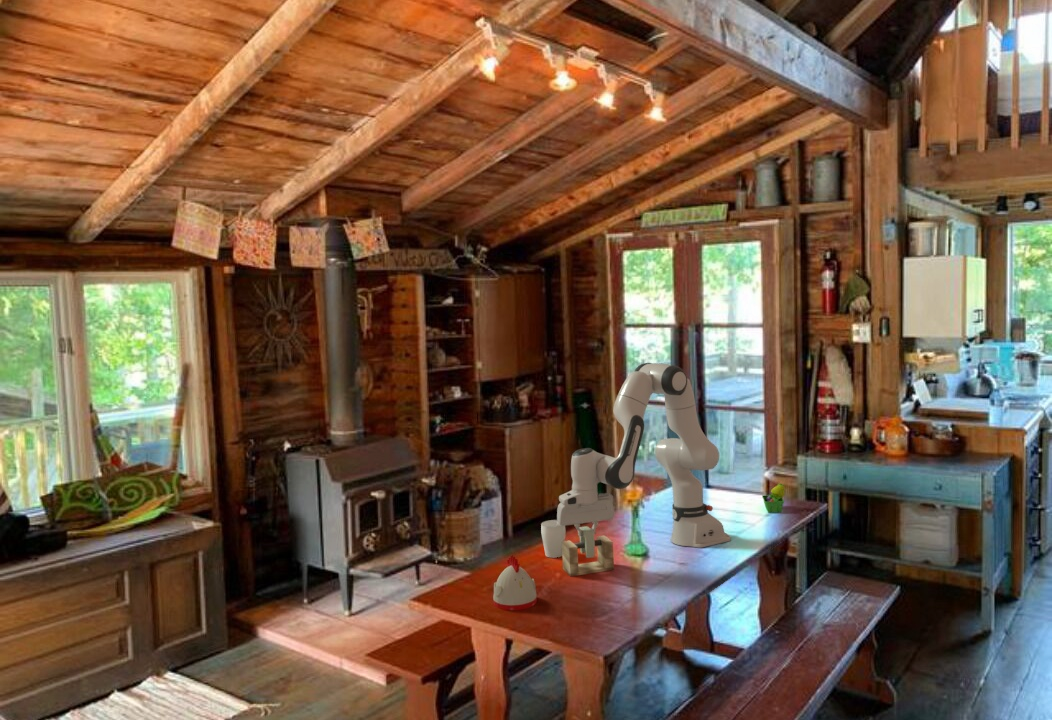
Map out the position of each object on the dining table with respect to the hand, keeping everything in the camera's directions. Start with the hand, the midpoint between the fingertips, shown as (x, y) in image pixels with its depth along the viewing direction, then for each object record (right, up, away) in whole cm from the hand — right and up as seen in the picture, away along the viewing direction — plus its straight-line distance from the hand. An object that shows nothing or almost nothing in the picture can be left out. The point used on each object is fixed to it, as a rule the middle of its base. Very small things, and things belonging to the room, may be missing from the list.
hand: (586, 534), depth 297 cm
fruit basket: (+84, -3, +63) cm, 105 cm away
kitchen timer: (-25, -17, -25) cm, 39 cm away
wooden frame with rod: (+1, -12, +1) cm, 13 cm away
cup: (-11, -12, +19) cm, 24 cm away
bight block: (0, -7, +1) cm, 7 cm away
